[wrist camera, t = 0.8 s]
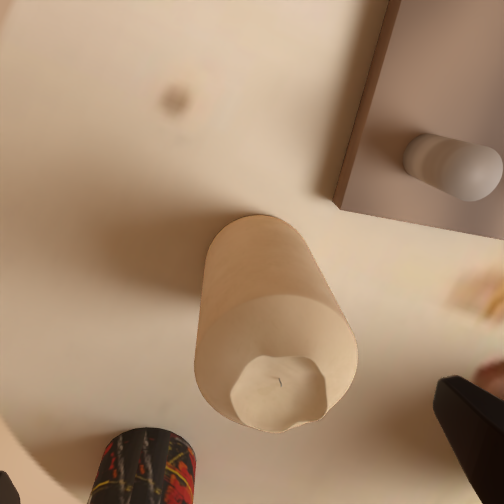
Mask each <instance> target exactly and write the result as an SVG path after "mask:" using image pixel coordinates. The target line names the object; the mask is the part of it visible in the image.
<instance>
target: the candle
mask: <svg viewBox="0 0 504 504" xmlns="http://www.w3.org/2000/svg"><path fill="white" fill-rule="evenodd" d="M357 364H358V349H357V343H356V340H355V337H354V334H353V332H352V330H351V328H350V326H349V324H348V322H347V320H346V318H345V317H344V315H343V313H342V311H341V309H340V307H339V305H338V303H337V301H336V299H335V297H334V295H333V294H332V292H331V290H330V288H329V286H328V284H327V282H326V280H325V278H324V276H323V274H322V272H321V271H320V269H319V267H318V265H317V263H316V261H315V259H314V257H313V255H312V253H311V251H310V249H309V248H308V246H307V244H306V242H305V240H304V239H303V237H302V236H301V235H300V233H299V232H298V231H297V230H296V229H294V228H293V227H292V226H291V225H289V224H288V223H286V222H284V221H283V220H280V219H278V218H275V217H271V216H265V215H253V216H247V217H243V218H240V219H237V220H235V221H233V222H231V223H230V224H228V225H227V226H225V227H224V228H223V229H222V230H221V231H220V232H219V233H218V234H217V235H216V237H215V238H214V240H213V241H212V243H211V245H210V247H209V249H208V252H207V256H206V261H205V268H204V277H203V286H202V295H201V304H200V313H199V323H198V332H197V341H196V350H195V360H194V372H195V377H196V382H197V384H198V387H199V389H200V391H201V393H202V395H203V397H204V398H205V399H206V401H207V402H208V403H209V404H210V405H211V406H212V407H213V408H214V409H215V410H216V411H217V412H219V413H220V414H221V415H223V416H225V417H226V418H228V419H230V420H232V421H234V422H237V423H239V424H242V425H245V426H248V427H252V428H255V429H257V430H261V431H264V432H269V433H282V432H285V431H287V430H288V429H291V428H294V427H298V426H301V425H303V424H306V423H308V422H315V421H319V420H320V419H322V418H323V417H324V416H325V414H326V413H327V412H328V410H329V409H331V408H332V407H333V406H334V405H335V404H336V403H337V402H338V401H339V400H340V399H341V398H342V397H343V395H344V394H345V393H346V391H347V390H348V388H349V387H350V385H351V383H352V381H353V379H354V376H355V373H356V370H357Z"/></svg>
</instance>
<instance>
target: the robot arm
mask: <svg viewBox="0 0 504 504" xmlns="http://www.w3.org/2000/svg"><path fill="white" fill-rule="evenodd" d="M433 410H434V413H435V415H436V417H437V419H438V421H439V423H440V425H441V427H442V429H443V431H444V433H445V435H446V437H447V439H448V441H449V443H450V445H451V447H452V449H453V451H454V453H455V455H456V457H457V459H458V461H459V463H460V465H461V467H462V469H463V471H464V473H465V475H466V476H467V478H468V480H469V482H470V484H471V485H472V487H473V489H474V490H475V492H476V494H477V495H478V497H479V499H480V500H481V502H482V503H483V504H504V401H503V400H502V399H500V398H498V397H496V396H494V395H493V394H491V393H489V392H487V391H486V390H484V389H482V388H480V387H479V386H477V385H475V384H473V383H471V382H470V381H468V380H466V379H464V378H463V377H461V376H458V375H452V376H447V377H442V378H440V379H439V380H438V382H437V386H436V390H435V395H434V400H433ZM0 504H20V497H19V494H18V492H17V490H16V488H15V487H14V485H13V483H12V481H11V480H10V478H9V476H8V475H7V473H6V472H4V471H0Z"/></svg>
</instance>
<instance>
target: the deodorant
mask: <svg viewBox="0 0 504 504" xmlns="http://www.w3.org/2000/svg"><path fill="white" fill-rule="evenodd" d="M195 469H196V458H195V453H194V451H193V449H192V448H191V446H190V445H189V443H187V442H186V441H185V440H184V439H183V438H182V437H180V436H178V435H176V434H174V433H173V432H170V431H167V430H163V429H159V428H140V429H133V430H130V431H128V432H125V433H122V434H121V435H119V436H118V437H116V438H115V439H113V440H112V441H111V443H110V444H109V445H108V446H107V447H106V450H105V452H104V455H103V458H102V461H101V464H100V467H99V470H98V473H97V476H96V479H95V482H94V485H93V488H92V491H91V494H90V497H89V500H88V503H87V504H193V495H194V482H195Z"/></svg>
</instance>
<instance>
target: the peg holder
mask: <svg viewBox="0 0 504 504" xmlns="http://www.w3.org/2000/svg"><path fill="white" fill-rule="evenodd" d="M333 203H334V204H335V205H336V206H337V207H338V208H339V209H340V210H344V211H350V212H355V213H360V214H366V215H371V216H376V217H382V218H387V219H393V220H398V221H403V222H409V223H414V224H420V225H425V226H430V227H436V228H441V229H447V230H452V231H457V232H463V233H468V234H473V235H479V236H484V237H490V238H495V239H500V240H504V0H389V3H388V7H387V11H386V14H385V18H384V21H383V25H382V28H381V32H380V35H379V39H378V42H377V46H376V49H375V53H374V56H373V60H372V63H371V67H370V70H369V74H368V78H367V81H366V85H365V88H364V92H363V95H362V99H361V102H360V106H359V109H358V113H357V116H356V120H355V123H354V127H353V130H352V134H351V137H350V141H349V145H348V148H347V152H346V155H345V159H344V162H343V166H342V169H341V173H340V176H339V180H338V183H337V187H336V190H335V194H334V197H333Z"/></svg>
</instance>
